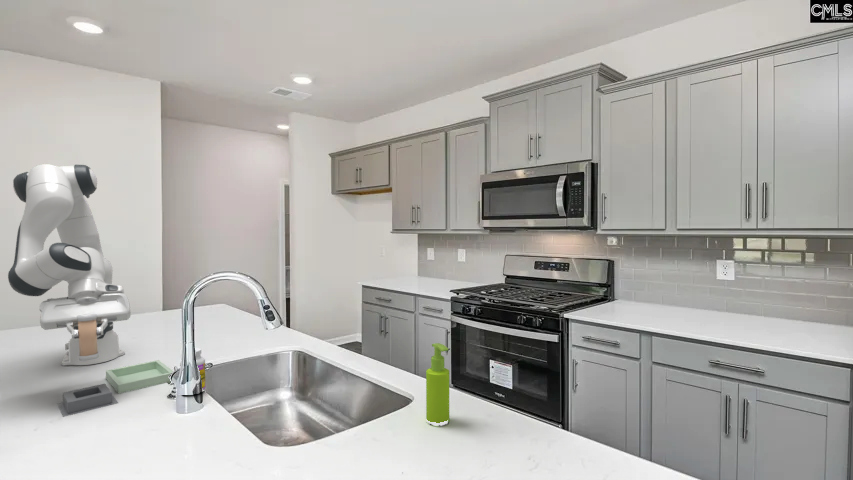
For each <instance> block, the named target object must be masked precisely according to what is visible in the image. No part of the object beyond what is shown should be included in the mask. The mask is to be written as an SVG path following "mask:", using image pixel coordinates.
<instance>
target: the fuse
mask: <svg viewBox="0 0 853 480" xmlns="http://www.w3.org/2000/svg"><path fill="white" fill-rule="evenodd" d="M96 319H97V314H95V313H90V314H82V315H78V316H77V321H78V332H79V353H80V355H79V360H80V361H86V360H92V359H96V358H98V357H99V352H98V346H97V325H96Z"/></svg>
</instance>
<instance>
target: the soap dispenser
mask: <svg viewBox="0 0 853 480" xmlns="http://www.w3.org/2000/svg"><path fill="white" fill-rule="evenodd" d="M431 347H433V348H434V349H433V350H434V353H433V354H434V355H432V356H431V358H430V367H429V368H427V369H426V371H425V372H426V373H425V376H426V377H425V378H426V379H425V384H426V386H425V388H426V389H425V390H426V391H425V392H426V393H425V394H426V396H425V397H426V398H425V399H426V401H425V402H426V403H425V404H426V407H425V408H426V409H425V410H426V416H425V417H426V418H425V419H427V420H428V421H430V422H436V423H440V422H444V421H447V420H448V419H449V420H450V370H449V369H448V368H445V356H444V355H443V354H442V352H447V351H449V350H450V348H448V347H447V345H445V344H442V343H441V342H440V343H439V342H438V343H437V342H436V343H435V342H434V343H432V344H431Z"/></svg>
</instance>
